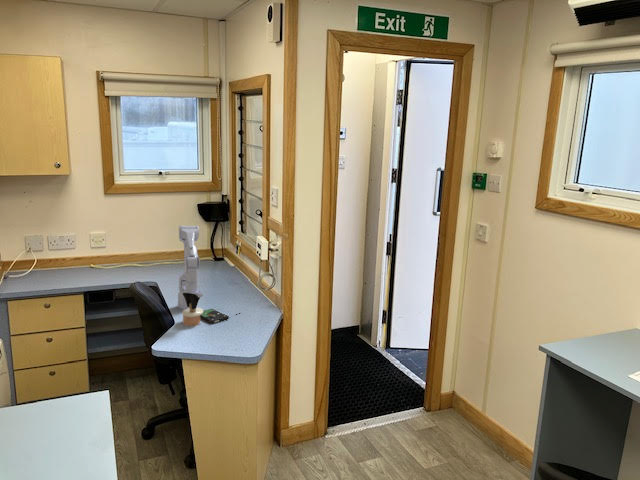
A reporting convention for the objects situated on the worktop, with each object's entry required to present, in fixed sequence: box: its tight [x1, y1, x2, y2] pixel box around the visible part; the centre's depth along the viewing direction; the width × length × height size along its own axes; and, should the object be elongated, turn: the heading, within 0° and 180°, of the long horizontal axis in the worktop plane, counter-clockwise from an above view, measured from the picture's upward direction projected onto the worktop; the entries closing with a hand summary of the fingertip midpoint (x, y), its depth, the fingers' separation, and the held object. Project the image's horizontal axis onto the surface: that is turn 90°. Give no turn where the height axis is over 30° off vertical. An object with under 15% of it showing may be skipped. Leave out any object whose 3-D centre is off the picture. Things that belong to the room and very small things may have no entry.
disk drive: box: [200, 308, 230, 325], centre depth 257 cm, size 10×3×15 cm
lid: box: [181, 303, 204, 317], centre depth 249 cm, size 10×10×5 cm
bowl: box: [182, 315, 201, 327], centre depth 250 cm, size 8×8×4 cm
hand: (191, 307), depth 249 cm, fingers open, 3 cm apart
